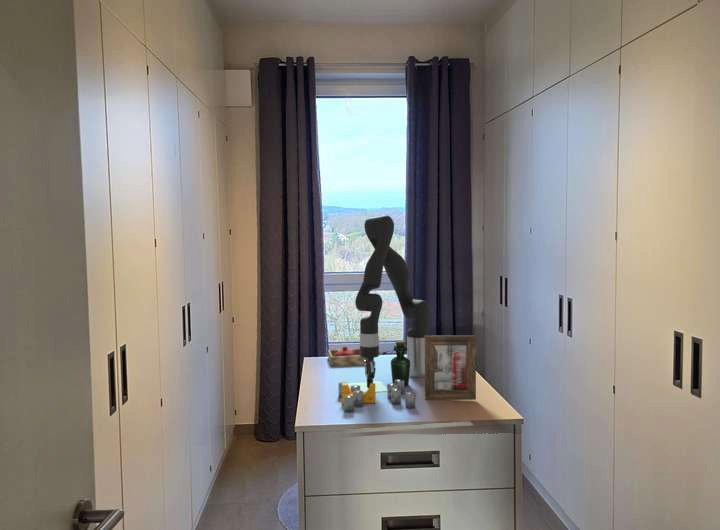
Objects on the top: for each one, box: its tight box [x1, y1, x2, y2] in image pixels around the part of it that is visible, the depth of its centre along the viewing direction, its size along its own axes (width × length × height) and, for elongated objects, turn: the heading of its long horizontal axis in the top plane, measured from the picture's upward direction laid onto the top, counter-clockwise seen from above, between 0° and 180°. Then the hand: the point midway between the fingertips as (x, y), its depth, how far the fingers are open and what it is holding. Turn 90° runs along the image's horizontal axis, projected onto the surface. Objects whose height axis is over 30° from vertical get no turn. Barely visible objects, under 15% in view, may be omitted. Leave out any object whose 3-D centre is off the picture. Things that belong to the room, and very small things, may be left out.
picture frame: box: [424, 335, 477, 401], centre depth 191 cm, size 19×2×24 cm, turn 87°
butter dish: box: [336, 345, 355, 356], centre depth 249 cm, size 12×12×8 cm
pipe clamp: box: [341, 382, 376, 405], centre depth 188 cm, size 12×4×6 cm, turn 86°
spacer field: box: [337, 379, 416, 413], centre depth 190 cm, size 26×21×5 cm
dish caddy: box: [327, 348, 365, 367], centre depth 250 cm, size 17×16×5 cm
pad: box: [347, 381, 387, 393], centre depth 208 cm, size 16×14×1 cm
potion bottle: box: [390, 339, 410, 388], centre depth 211 cm, size 8×8×18 cm
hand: (369, 387), depth 202 cm, fingers closed
